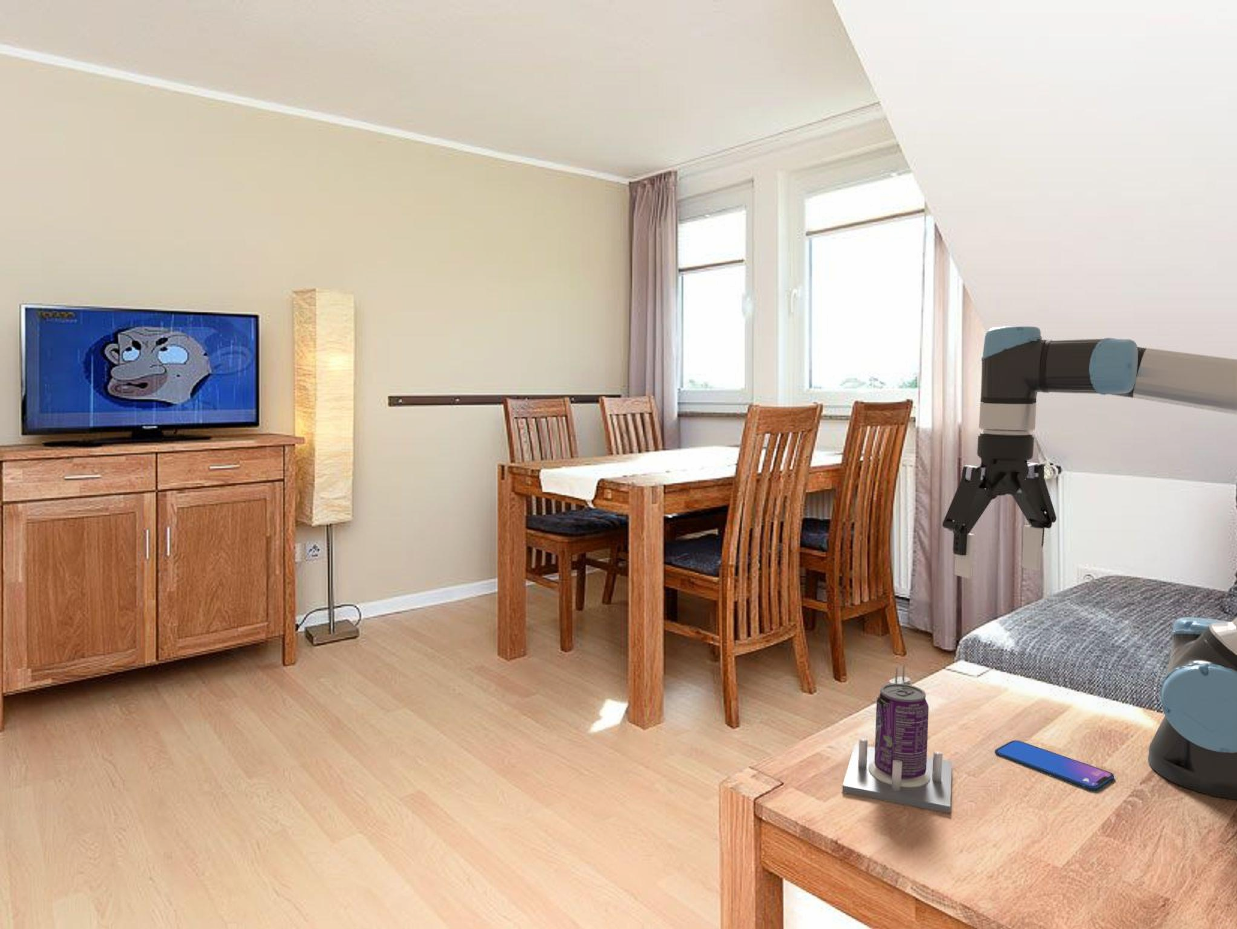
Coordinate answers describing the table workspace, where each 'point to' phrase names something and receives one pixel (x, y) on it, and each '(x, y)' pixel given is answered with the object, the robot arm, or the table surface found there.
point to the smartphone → (1056, 765)
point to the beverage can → (901, 729)
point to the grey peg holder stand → (899, 780)
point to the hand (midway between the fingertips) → (997, 572)
